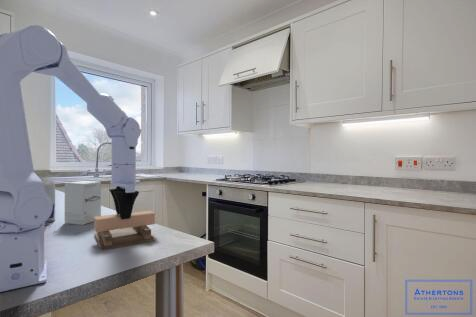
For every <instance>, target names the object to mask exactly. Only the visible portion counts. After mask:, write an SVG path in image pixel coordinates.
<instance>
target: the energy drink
mask: <svg viewBox="0 0 476 317" xmlns="http://www.w3.org/2000/svg"><path fill="white" fill-rule="evenodd" d="M43 183H44V188H45V191H46V193H47V195H48V196H49V197H50V198H51V200H52V203H53V209H52V213H51V215H50V217H49V218H48V219H47V220H46V222H45V224H48V223H52V222H55V220H56V184H55V182H43Z"/></svg>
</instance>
